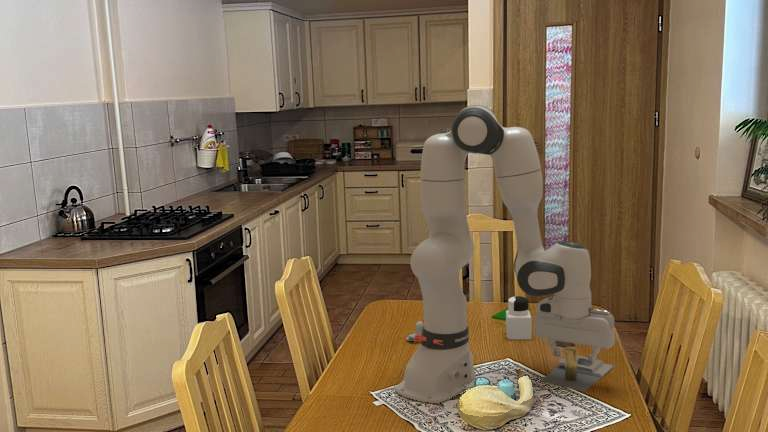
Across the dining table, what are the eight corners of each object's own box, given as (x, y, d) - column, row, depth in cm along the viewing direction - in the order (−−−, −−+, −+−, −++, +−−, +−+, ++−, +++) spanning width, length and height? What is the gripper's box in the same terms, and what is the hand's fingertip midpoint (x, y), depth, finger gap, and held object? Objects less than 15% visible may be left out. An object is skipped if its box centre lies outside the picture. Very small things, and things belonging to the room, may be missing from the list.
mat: (584, 397, 172) (584, 391, 172) (539, 386, 180) (539, 380, 179) (615, 370, 188) (615, 365, 187) (572, 361, 195) (572, 356, 195)
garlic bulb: (573, 350, 204) (573, 323, 202) (547, 348, 206) (547, 321, 205) (575, 341, 211) (576, 315, 209) (550, 339, 213) (550, 313, 212)
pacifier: (401, 340, 217) (415, 345, 213) (400, 321, 216) (414, 324, 212) (419, 335, 222) (432, 339, 217) (418, 315, 221) (431, 319, 216)
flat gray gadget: (601, 377, 180) (601, 371, 180) (557, 367, 187) (557, 361, 187) (611, 368, 186) (612, 362, 185) (568, 359, 193) (568, 353, 193)
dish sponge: (530, 316, 237) (530, 308, 237) (510, 327, 227) (510, 319, 226) (511, 312, 242) (511, 305, 241) (490, 323, 231) (490, 316, 231)
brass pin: (574, 382, 178) (574, 351, 176) (562, 379, 180) (563, 349, 178) (578, 378, 180) (579, 347, 179) (567, 375, 182) (568, 345, 181)
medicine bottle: (529, 332, 220) (529, 294, 218) (531, 339, 213) (531, 301, 211) (505, 332, 221) (505, 294, 219) (507, 339, 214) (507, 301, 212)
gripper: (619, 307, 173) (619, 362, 175) (541, 297, 185) (542, 348, 188) (609, 314, 168) (609, 370, 170) (530, 303, 180) (531, 356, 183)
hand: (574, 359), depth 179 cm, fingers open, 8 cm apart
